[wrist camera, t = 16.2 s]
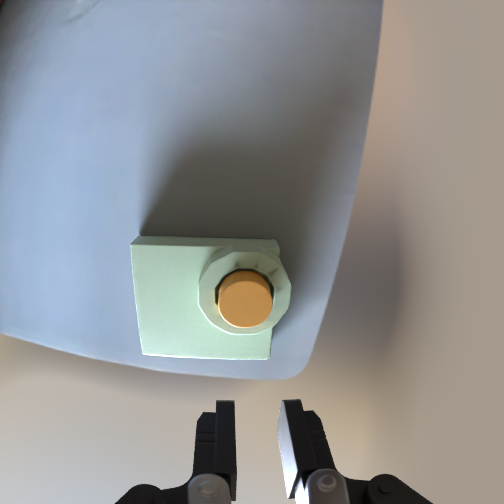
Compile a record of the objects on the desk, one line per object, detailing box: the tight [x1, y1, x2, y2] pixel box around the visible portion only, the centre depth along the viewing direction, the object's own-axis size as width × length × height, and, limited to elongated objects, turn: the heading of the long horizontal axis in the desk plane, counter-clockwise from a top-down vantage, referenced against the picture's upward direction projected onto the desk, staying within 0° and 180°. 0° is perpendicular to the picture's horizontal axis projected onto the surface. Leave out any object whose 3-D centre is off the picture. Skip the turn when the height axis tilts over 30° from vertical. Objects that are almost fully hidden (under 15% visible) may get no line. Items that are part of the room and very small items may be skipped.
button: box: [218, 271, 273, 328], centre depth 22 cm, size 4×4×2 cm
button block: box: [131, 236, 292, 359], centre depth 25 cm, size 12×10×4 cm
